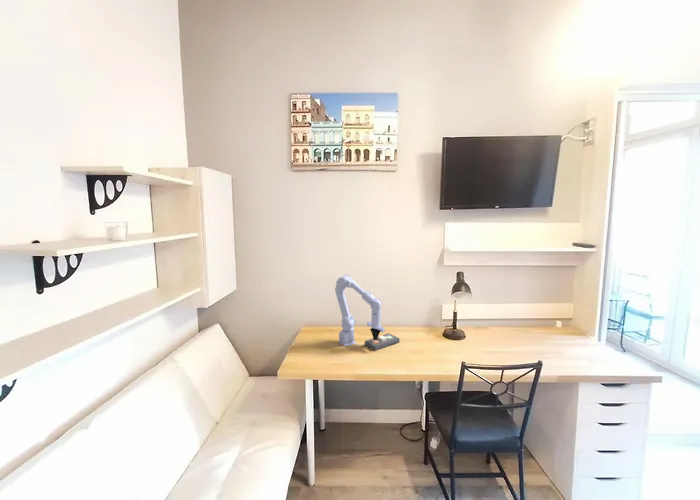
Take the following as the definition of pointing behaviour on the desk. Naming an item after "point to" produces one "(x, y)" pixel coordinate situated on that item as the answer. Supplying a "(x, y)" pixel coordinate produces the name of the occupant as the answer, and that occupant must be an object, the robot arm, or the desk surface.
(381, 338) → the cream key
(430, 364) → the desk surface
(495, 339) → the desk surface
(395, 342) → the keypad
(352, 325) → the robot arm
